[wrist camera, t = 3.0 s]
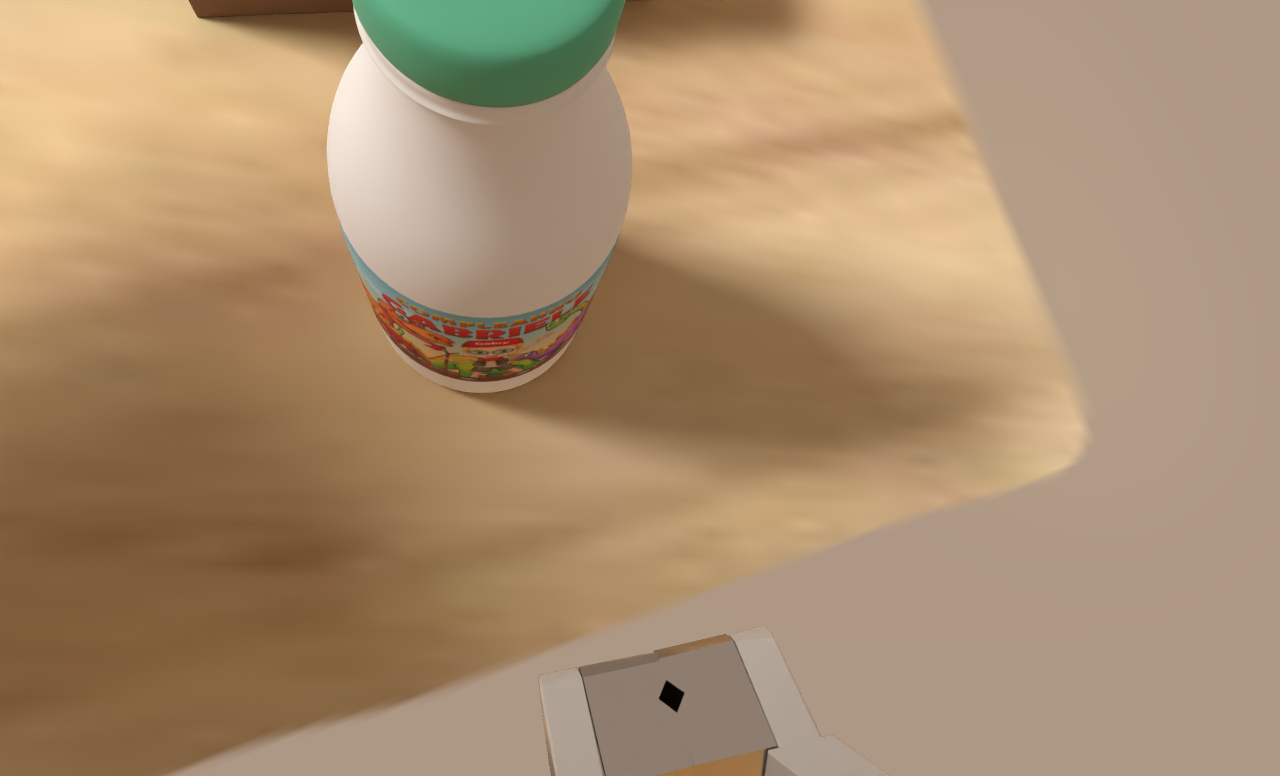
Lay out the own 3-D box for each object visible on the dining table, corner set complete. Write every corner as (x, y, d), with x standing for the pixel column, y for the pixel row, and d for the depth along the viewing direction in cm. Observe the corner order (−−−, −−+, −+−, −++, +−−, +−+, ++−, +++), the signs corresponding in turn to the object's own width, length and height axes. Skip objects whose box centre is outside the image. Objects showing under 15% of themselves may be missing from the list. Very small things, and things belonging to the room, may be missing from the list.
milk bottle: (348, 233, 32) (153, -257, 12) (542, 180, 34) (633, -318, 14) (414, 424, 31) (314, 215, 12) (609, 359, 33) (802, 87, 13)
